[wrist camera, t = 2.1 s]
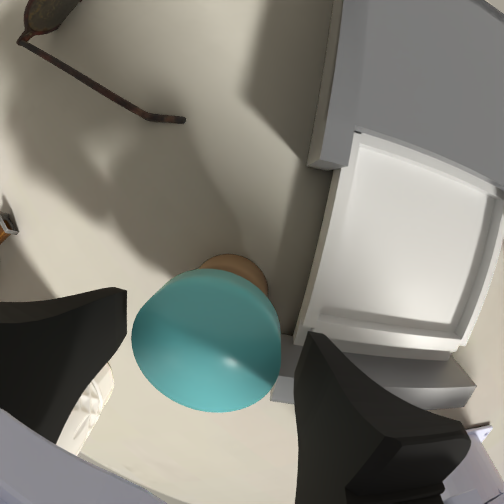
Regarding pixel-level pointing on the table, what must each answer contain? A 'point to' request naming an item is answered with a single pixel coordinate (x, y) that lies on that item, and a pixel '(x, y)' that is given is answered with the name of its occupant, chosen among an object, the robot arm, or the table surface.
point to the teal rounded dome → (209, 341)
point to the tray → (400, 272)
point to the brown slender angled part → (6, 227)
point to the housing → (414, 82)
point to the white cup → (86, 411)
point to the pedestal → (238, 269)
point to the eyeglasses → (43, 22)
